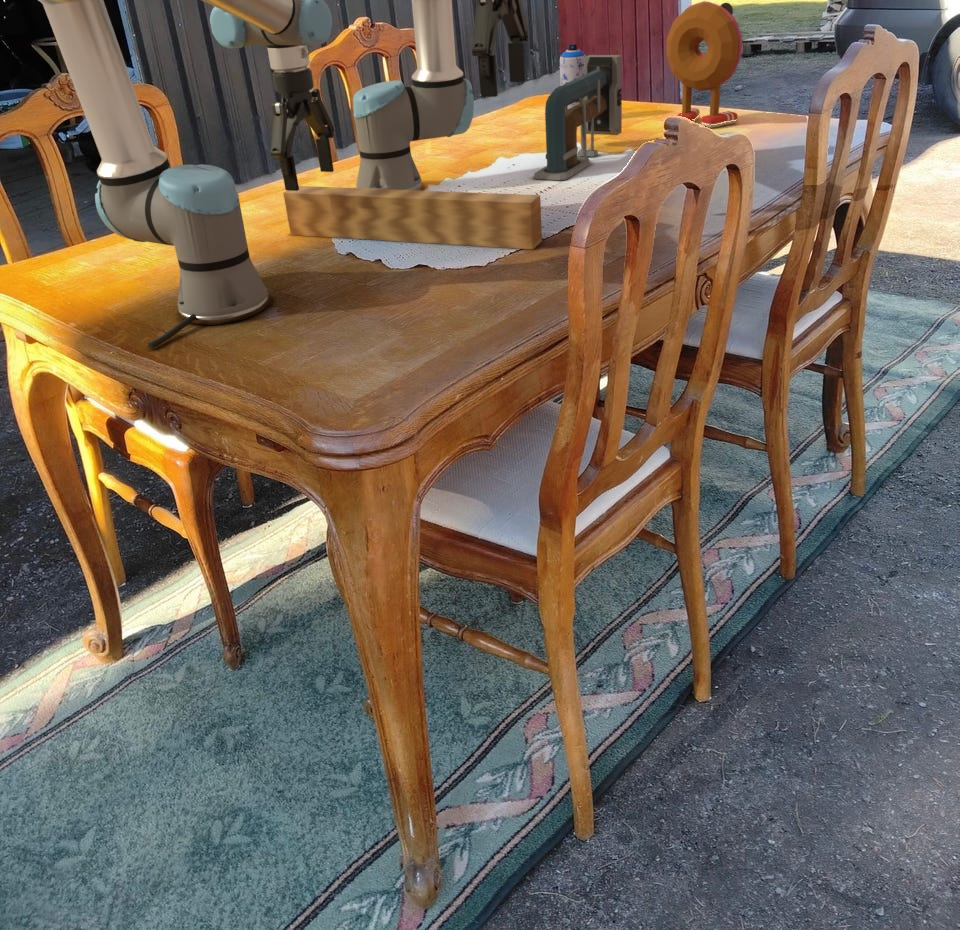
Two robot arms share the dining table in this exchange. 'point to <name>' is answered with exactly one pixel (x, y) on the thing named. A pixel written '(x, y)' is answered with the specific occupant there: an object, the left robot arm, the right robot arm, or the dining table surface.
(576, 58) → the aerosol can
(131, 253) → the dining table surface
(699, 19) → the toy
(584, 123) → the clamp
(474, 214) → the beam
